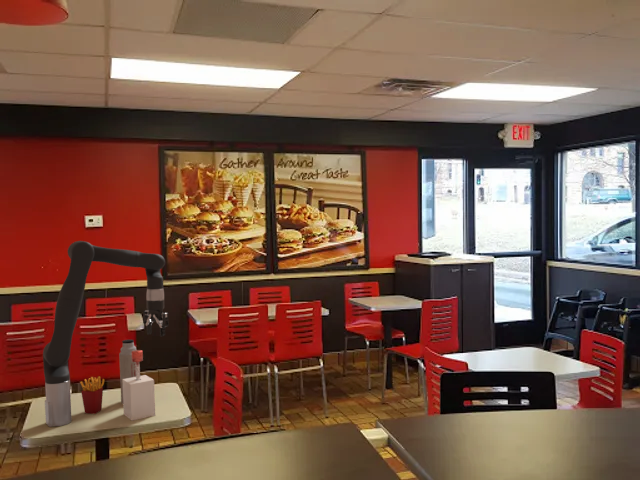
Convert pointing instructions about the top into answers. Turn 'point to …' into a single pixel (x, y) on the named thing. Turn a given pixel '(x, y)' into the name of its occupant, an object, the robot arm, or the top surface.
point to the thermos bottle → (126, 362)
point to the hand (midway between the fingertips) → (156, 335)
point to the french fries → (92, 395)
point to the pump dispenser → (138, 397)
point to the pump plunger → (137, 361)
